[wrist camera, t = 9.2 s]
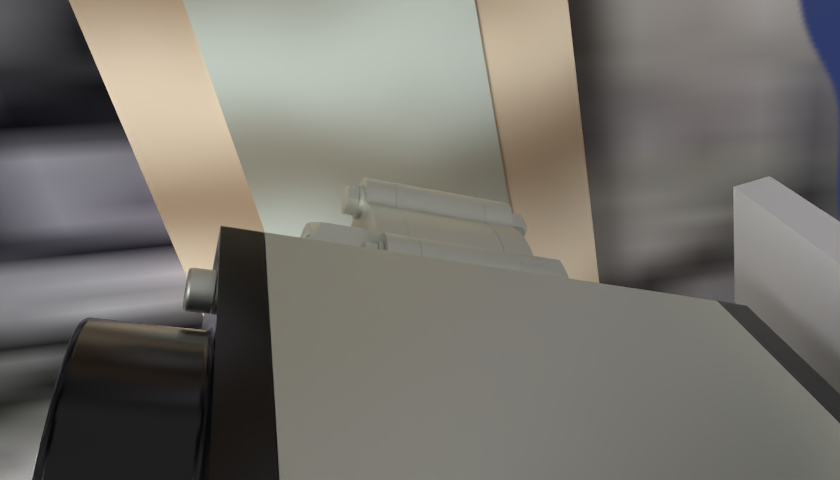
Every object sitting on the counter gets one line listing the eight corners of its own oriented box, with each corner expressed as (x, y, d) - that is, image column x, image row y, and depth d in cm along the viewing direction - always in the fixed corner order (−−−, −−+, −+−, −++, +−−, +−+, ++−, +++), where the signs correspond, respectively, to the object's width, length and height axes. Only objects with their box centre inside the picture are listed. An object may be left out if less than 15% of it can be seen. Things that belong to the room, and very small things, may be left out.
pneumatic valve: (146, 98, 14) (-91, 794, 4) (681, 202, 18) (1289, 722, 8) (114, 344, 17) (-91, 1197, 6) (595, 394, 20) (972, 1000, 10)
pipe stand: (-105, -455, 15) (-357, -660, 9) (478, -576, 16) (638, -842, 10) (311, 545, 30) (331, 742, 24) (605, 453, 31) (701, 619, 25)
